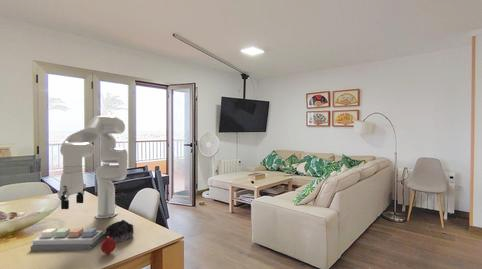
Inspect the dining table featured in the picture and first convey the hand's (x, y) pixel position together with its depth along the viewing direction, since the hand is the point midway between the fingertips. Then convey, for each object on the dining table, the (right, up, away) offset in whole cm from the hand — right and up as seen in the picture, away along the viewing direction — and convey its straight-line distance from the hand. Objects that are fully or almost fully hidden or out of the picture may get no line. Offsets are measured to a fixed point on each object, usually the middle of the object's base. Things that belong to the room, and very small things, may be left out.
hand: (72, 205), depth 118 cm
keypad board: (-3, -19, +2) cm, 19 cm away
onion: (+21, -19, -8) cm, 29 cm away
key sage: (-6, -15, +2) cm, 16 cm away
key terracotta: (0, -15, +2) cm, 15 cm away
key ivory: (-12, -14, +1) cm, 19 cm away
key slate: (+7, -15, +2) cm, 16 cm away
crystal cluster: (+18, -19, +9) cm, 27 cm away
